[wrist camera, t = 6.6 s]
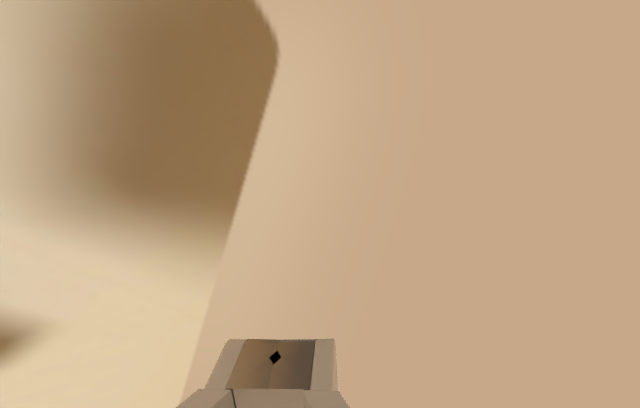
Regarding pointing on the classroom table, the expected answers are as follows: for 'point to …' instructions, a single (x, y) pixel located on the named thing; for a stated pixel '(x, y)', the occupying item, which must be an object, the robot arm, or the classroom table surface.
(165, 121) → the classroom table surface
